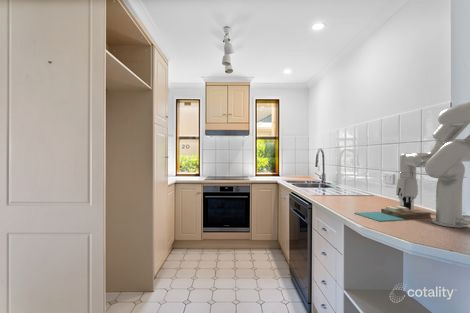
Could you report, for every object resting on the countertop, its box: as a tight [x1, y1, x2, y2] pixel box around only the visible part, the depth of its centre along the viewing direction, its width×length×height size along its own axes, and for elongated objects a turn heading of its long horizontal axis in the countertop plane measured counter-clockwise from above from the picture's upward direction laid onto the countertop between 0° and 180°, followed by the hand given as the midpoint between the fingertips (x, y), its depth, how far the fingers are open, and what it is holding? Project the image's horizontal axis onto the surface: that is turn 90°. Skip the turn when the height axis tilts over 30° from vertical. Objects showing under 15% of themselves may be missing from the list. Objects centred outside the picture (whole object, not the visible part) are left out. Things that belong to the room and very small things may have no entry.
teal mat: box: [354, 211, 406, 222], centre depth 137 cm, size 18×16×1 cm
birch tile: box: [385, 205, 409, 212], centre depth 141 cm, size 9×6×2 cm, turn 102°
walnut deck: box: [380, 208, 432, 220], centre depth 141 cm, size 14×18×2 cm
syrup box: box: [398, 198, 415, 209], centre depth 161 cm, size 6×6×14 cm
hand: (407, 209), depth 142 cm, fingers closed
